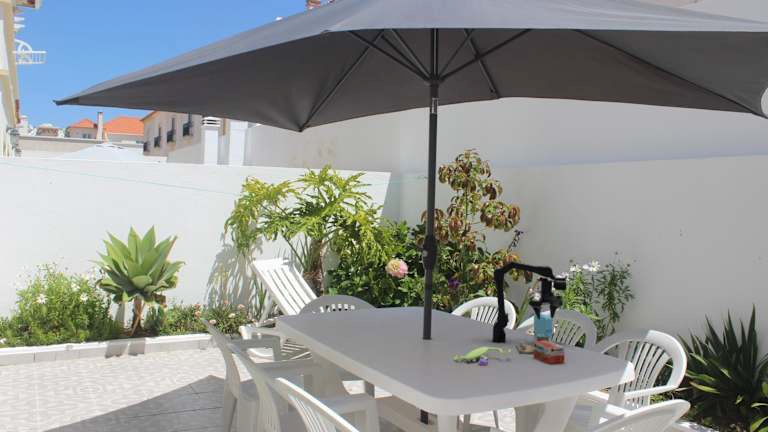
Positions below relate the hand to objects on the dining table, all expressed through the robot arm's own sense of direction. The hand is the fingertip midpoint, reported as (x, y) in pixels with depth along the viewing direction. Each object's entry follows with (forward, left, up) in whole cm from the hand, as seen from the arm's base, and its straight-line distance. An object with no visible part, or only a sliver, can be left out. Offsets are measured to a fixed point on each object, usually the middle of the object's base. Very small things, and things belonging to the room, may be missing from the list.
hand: (545, 318), depth 355 cm
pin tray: (-9, -19, -13) cm, 25 cm away
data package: (+1, +19, -13) cm, 23 cm away
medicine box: (-4, -39, -14) cm, 42 cm away
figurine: (-35, -41, -14) cm, 56 cm away
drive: (-3, -2, -13) cm, 14 cm away
